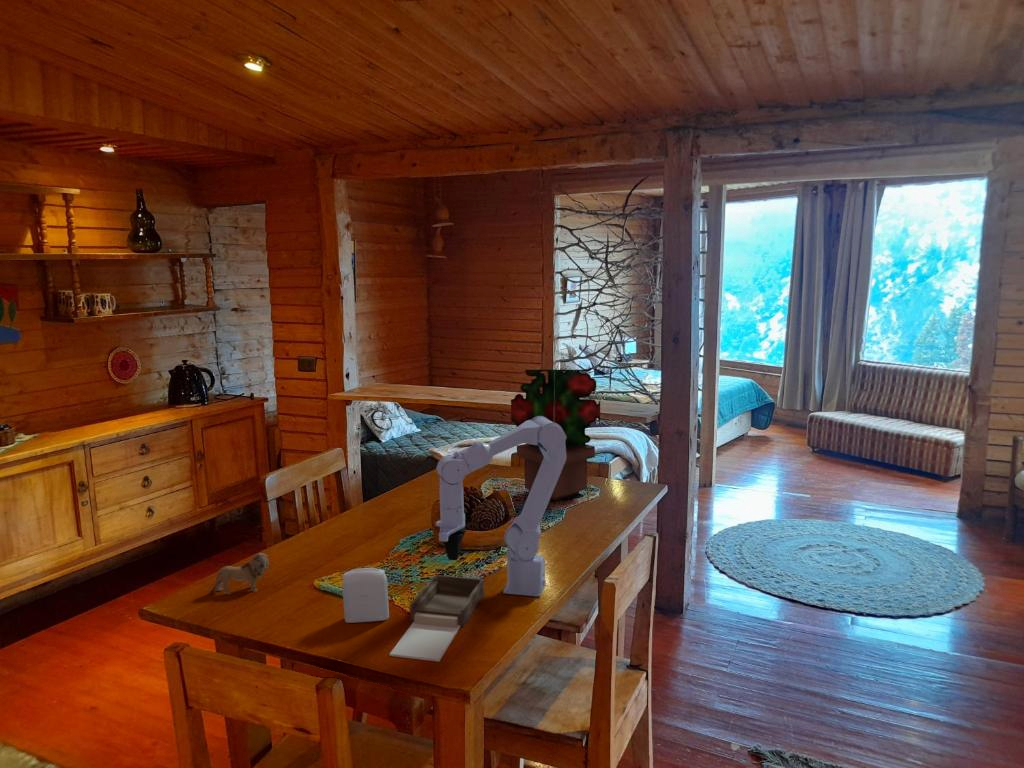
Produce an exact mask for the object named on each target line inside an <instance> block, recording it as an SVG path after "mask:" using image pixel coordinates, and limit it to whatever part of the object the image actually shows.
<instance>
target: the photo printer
mask: <svg viewBox="0 0 1024 768" xmlns="http://www.w3.org/2000/svg"><path fill="white" fill-rule="evenodd" d="M341 587H342V598H343V599H342V600H343V612H344V621H345V623H347V624H348V623H349V624H350V623H353V624H354V623H366V622H367V623H368V622H380V621H381V622H382V621H386V620H388V619H389V617H390V610H389V609H390V608H389V606H390V605H389V594H388V593H389V592H388V591H389V590H388V577H387V575H386V572H385V570H384V569H381V568H374V567H362V568H361V567H360V568H355V569H352V570H349V571H346V572H344V573H343V577H342V586H341Z"/></svg>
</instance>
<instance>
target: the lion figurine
mask: <svg viewBox="0 0 1024 768" xmlns="http://www.w3.org/2000/svg"><path fill="white" fill-rule="evenodd" d="M269 565H270V561H269V555H268V554H266V553H263V552H259V553H257V554H255V555H254V556H253V557H252V559H250V560H248V561H247V562H246V563H245V564H244V565H242V566H231V565H226V566H223V567H221V568H220V569H219V570H218V572H217V574H216V578H215V581H214V582H215V583H214V586H213V587H212V589H211V590H210V591H209V593H210V594H213V593H214V592H215V591H216V590H217V591H221V592H222V591H223V590H224V592H225V593H226V595H228V596H230V595H232V593H233V592H232V590H229V589H228V586H229V583H230V579H232V580H234V581H237V582H244V581H248V582H249V584H248V585H249V587H250V590H251V592H253V593H256V592H257V591H258V588H256V587H257V585H256V580H259V579H260V578H262V577H263V575H264V573H266V571H268V569H269V567H270V566H269ZM222 585H223V587H221V586H222Z"/></svg>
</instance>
